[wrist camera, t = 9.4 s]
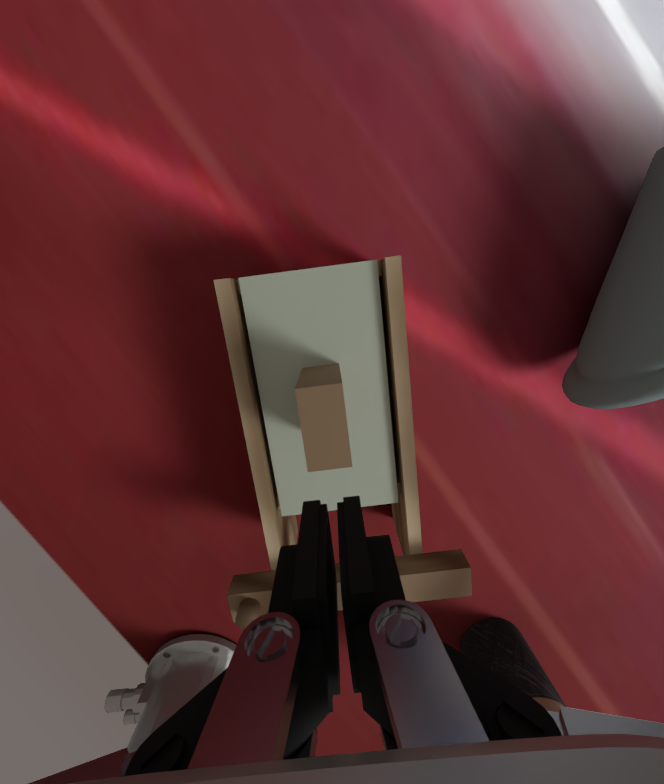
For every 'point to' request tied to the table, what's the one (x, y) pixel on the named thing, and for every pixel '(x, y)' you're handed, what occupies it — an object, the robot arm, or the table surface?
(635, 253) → the grey hat
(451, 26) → the table surface
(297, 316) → the lid
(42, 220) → the table surface
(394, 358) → the toolbox
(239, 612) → the wooden bar
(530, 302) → the table surface
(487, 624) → the travel mug
